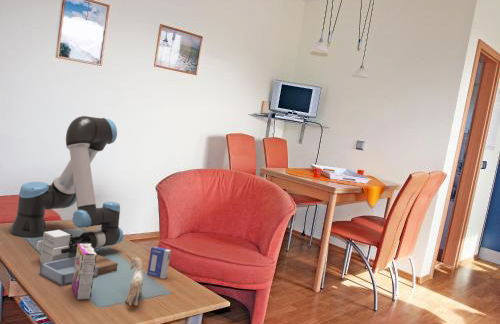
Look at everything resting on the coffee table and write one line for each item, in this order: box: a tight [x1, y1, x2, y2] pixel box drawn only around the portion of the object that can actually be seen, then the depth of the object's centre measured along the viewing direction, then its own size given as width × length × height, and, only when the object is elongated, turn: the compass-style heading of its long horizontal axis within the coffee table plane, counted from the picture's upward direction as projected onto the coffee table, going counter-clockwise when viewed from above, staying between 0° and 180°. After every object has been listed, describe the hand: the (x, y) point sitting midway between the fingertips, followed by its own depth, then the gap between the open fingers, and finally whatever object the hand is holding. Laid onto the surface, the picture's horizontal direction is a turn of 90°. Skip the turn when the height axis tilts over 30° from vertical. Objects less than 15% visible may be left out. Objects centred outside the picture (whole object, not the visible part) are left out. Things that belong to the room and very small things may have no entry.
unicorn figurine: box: [124, 252, 145, 307], centre depth 162 cm, size 7×20×13 cm, turn 24°
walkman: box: [146, 245, 172, 280], centre depth 187 cm, size 8×3×12 cm, turn 78°
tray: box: [39, 256, 99, 286], centre depth 172 cm, size 13×16×4 cm
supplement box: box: [39, 229, 71, 264], centre depth 180 cm, size 7×7×13 cm
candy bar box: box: [71, 243, 98, 301], centre depth 159 cm, size 11×5×16 cm, turn 30°
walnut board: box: [95, 254, 119, 277], centre depth 184 cm, size 12×10×3 cm
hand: (45, 248), depth 176 cm, fingers open, 9 cm apart
